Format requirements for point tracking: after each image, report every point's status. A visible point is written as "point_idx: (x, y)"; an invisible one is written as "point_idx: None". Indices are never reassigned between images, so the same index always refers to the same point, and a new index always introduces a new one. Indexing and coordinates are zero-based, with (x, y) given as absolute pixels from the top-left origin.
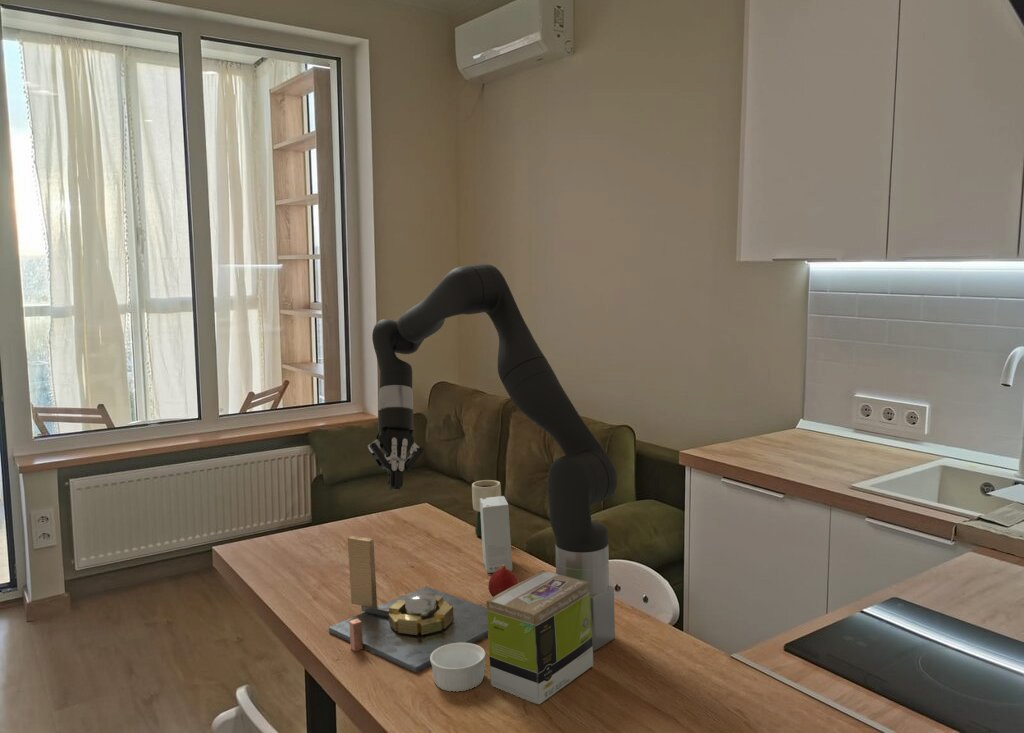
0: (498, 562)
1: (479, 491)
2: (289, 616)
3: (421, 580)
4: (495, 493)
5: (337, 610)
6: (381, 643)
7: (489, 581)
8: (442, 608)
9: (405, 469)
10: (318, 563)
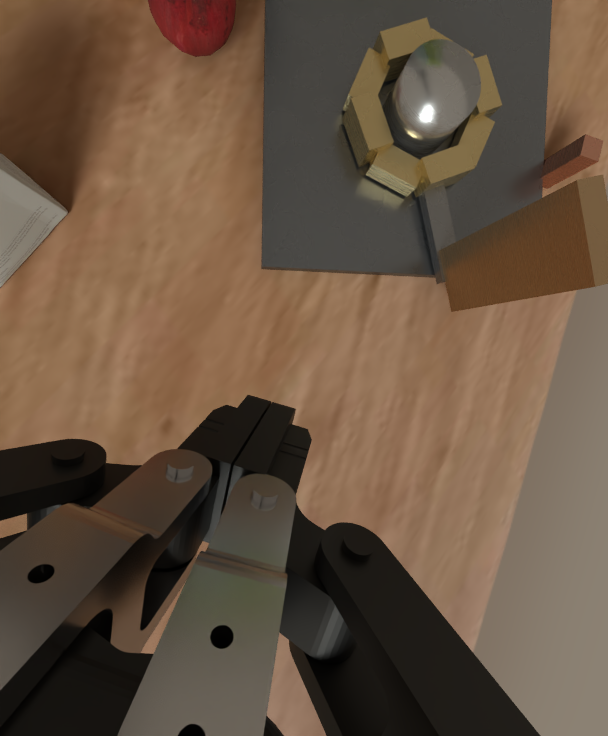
0: (23, 174)
1: None
2: (528, 414)
3: (220, 332)
4: None
5: (455, 357)
6: (525, 126)
7: (219, 19)
8: (404, 46)
9: (121, 468)
10: None
